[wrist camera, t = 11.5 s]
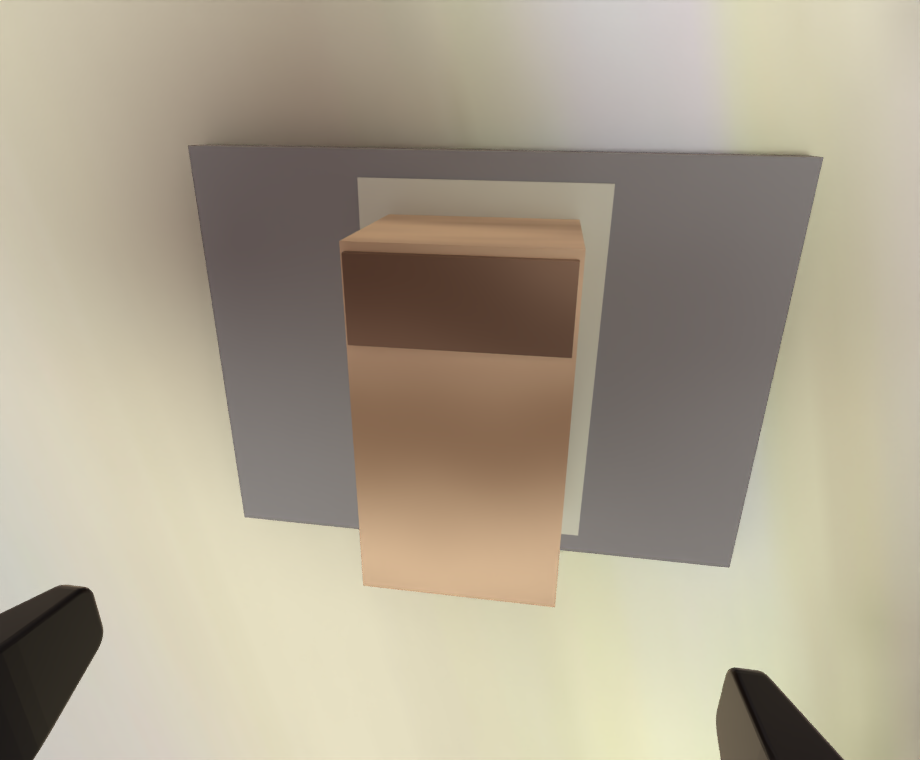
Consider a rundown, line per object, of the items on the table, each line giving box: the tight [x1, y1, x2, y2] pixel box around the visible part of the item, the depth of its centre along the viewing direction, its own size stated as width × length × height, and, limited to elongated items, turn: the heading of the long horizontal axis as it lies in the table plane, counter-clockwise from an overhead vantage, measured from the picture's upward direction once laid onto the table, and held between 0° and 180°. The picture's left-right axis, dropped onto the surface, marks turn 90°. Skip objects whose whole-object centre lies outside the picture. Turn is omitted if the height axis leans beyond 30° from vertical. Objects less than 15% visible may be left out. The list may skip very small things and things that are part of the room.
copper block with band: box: [339, 214, 586, 607], centre depth 16 cm, size 9×5×4 cm, turn 0°
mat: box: [188, 145, 823, 567], centre depth 18 cm, size 16×12×1 cm
